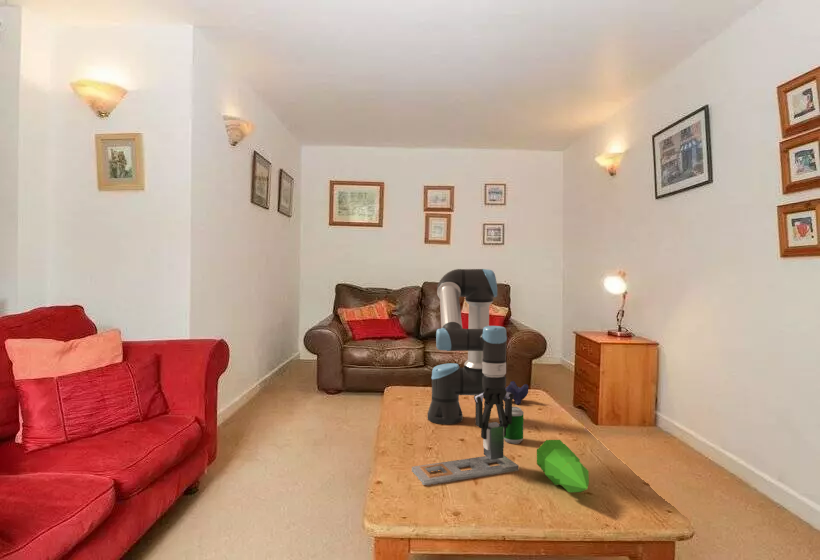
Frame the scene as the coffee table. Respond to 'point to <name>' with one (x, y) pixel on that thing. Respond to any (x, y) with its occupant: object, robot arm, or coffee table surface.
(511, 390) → the tetrapod
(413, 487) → the coffee table surface
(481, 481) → the coffee table surface
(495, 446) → the rectangular block
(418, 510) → the coffee table surface
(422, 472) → the grey board with holes
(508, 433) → the soda can
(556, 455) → the decorative tree
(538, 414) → the coffee table surface
